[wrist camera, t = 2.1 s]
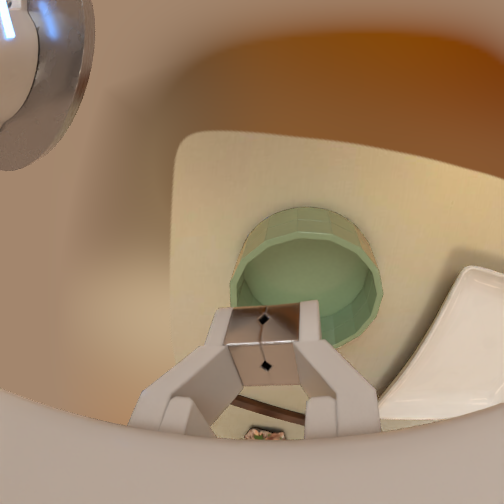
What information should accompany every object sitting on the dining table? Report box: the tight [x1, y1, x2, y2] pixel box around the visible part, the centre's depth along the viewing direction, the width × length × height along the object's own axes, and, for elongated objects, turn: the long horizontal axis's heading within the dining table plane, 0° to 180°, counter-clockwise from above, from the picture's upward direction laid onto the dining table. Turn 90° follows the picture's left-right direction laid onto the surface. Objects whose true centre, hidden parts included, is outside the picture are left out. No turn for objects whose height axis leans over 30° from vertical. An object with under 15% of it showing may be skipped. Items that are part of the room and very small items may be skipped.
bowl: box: [230, 207, 383, 348], centre depth 29 cm, size 13×13×5 cm
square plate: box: [378, 265, 504, 420], centre depth 32 cm, size 27×27×4 cm
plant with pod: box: [244, 428, 286, 440], centre depth 42 cm, size 8×11×20 cm
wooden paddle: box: [230, 395, 305, 426], centre depth 44 cm, size 22×6×1 cm, turn 67°
